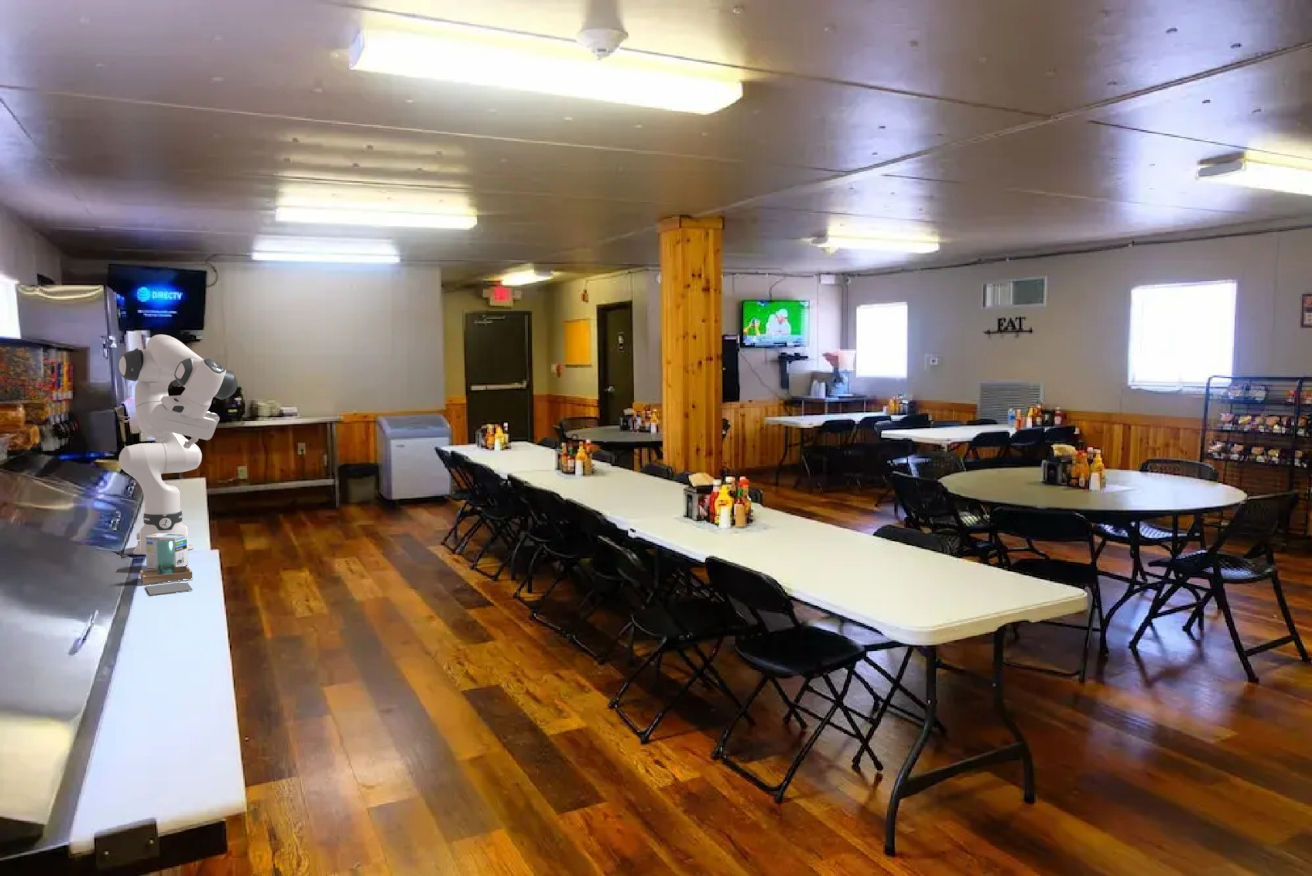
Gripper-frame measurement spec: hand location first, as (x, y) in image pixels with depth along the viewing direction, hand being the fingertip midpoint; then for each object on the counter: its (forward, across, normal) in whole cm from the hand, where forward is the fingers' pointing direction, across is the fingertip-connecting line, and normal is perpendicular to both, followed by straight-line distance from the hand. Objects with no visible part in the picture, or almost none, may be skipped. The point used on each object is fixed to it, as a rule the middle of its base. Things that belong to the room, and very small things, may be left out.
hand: (171, 444), depth 275 cm
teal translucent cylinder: (+35, -4, +24) cm, 42 cm away
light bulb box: (+39, -13, +9) cm, 42 cm away
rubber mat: (+31, +2, +36) cm, 48 cm away
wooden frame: (+35, -4, +24) cm, 42 cm away
